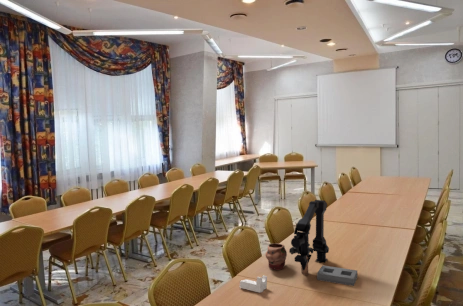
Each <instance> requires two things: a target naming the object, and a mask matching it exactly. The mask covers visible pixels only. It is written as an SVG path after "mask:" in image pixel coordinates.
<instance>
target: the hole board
mask: <svg viewBox="0 0 463 306" xmlns="http://www.w3.org/2000/svg"><path fill="white" fill-rule="evenodd" d="M316 280H317V281H321V282H328V283H333V284H340V285H345V286H350V287H351V286H352V287H354V286H355V284H356V281H357V280H358V270H357V269H351V268H350V269H349V268H343V267H336V266H329V265H321V266H320V268H319V270H318V271H317V272H316Z"/></svg>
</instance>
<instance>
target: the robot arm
mask: <svg viewBox="0 0 463 306" xmlns="http://www.w3.org/2000/svg"><path fill="white" fill-rule="evenodd" d="M327 207H328V202H326V200H323V199H322V200H321V199H315V200H314V201H313V200H311V201H309V203H308V207H307V209H306V211H305V213H304V215H303V217H302V218H300V219H299V220H298V221H297V223H296V225H295V228H294V232H293V234H294V236H293V238H292V239H291V240H290V244H291V246H292V247H290V248H289V251H288V253H289V254H291V255H294V254H297V255H296V256H295V257H294V262H296V263H300V267H301V266H302V269H303V270H305V267H306V264H307V261H308V264H309V262H310V260H311V257H312V256H313V255H312V254H314V252H316V259H315V261H314V262H317V263H322V264H323V263H326V262H327V261H328V258H327V254H328V253H329V250H330V247H329V246H328V244H327V240H326V238H325V236H324V235H325V234H324V233H325V232H324V227H325V225H324V219H325V218H324V216H325V212H326V211H327ZM314 215H315V237H314V238H313V239H312V245H310V242H309V241H310V240H309V235H310V234H311V233H310V230H311V226H312V224H311V222H312V220H313V218H314ZM310 246H312V247H310ZM306 256H307V257H308V259H307V257H306Z"/></svg>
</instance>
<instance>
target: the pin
mask: <svg viewBox="0 0 463 306" xmlns="http://www.w3.org/2000/svg"><path fill="white" fill-rule="evenodd" d="M306 257H307V256H306ZM307 259H308V257H307ZM300 269H301V270H300V271H301V275H303V276H306V275H309V263H308V261H307V264H306V267H305V270H303V269H302V266H301V265H300Z"/></svg>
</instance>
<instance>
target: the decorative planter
mask: <svg viewBox="0 0 463 306" xmlns="http://www.w3.org/2000/svg"><path fill="white" fill-rule="evenodd" d="M287 253H288V252H287V250H286V247H285V245H284V244H281V243H276V242H275V243H270V244H268V245H267V251H266V252H265V258H266V259H267V261H268V268H269V269H270V270H274V271H279V270H280V271H281V270H283V269H284V268H285V267H286V266H285V265H286V259H287V256H288V254H287Z"/></svg>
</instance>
